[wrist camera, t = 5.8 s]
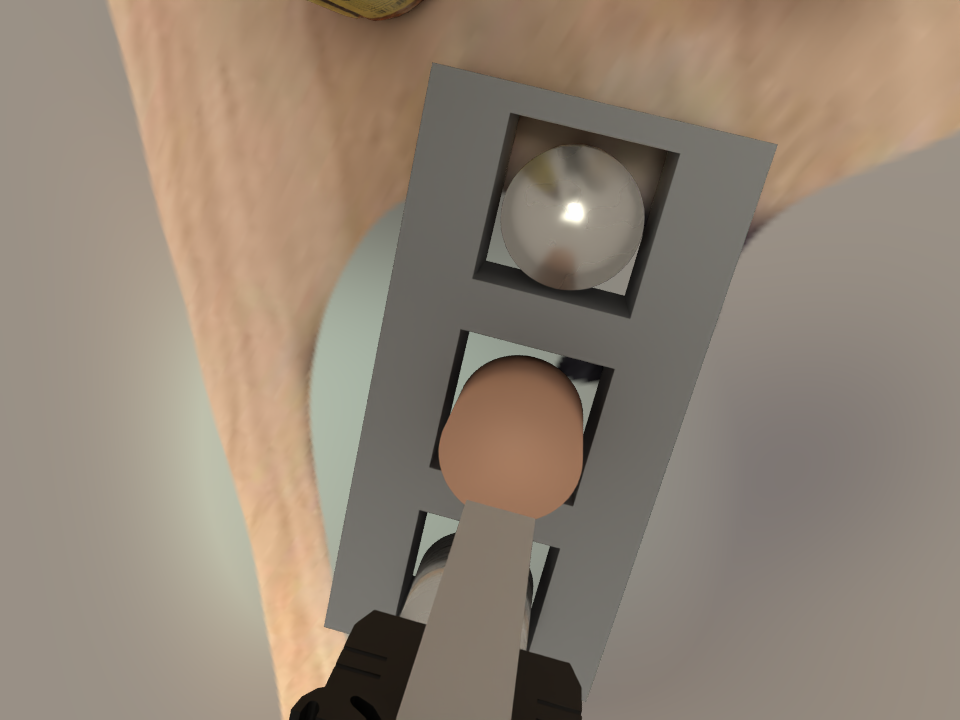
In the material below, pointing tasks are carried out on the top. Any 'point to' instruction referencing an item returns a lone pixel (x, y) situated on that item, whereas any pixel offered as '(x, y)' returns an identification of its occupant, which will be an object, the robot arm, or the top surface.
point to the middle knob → (514, 437)
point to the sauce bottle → (369, 7)
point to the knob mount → (546, 326)
